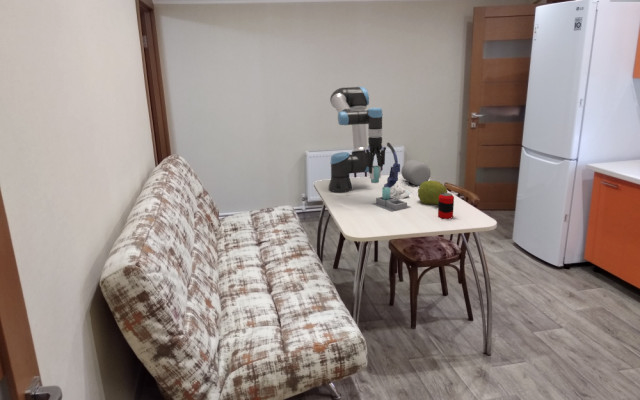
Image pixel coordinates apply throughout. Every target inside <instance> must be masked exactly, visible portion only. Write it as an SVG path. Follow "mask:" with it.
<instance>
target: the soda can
mask: <svg viewBox="0 0 640 400" xmlns="http://www.w3.org/2000/svg"><path fill="white" fill-rule="evenodd" d="M454 203H455V196H454V195H453V194H452V193H450V192H447V193H441V195H440V196H439V202H438V205H437V217H438V218H440V219H443V220H447V219H448V220H449V219H452V218H453V217H454V205H455V204H454Z"/></svg>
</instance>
